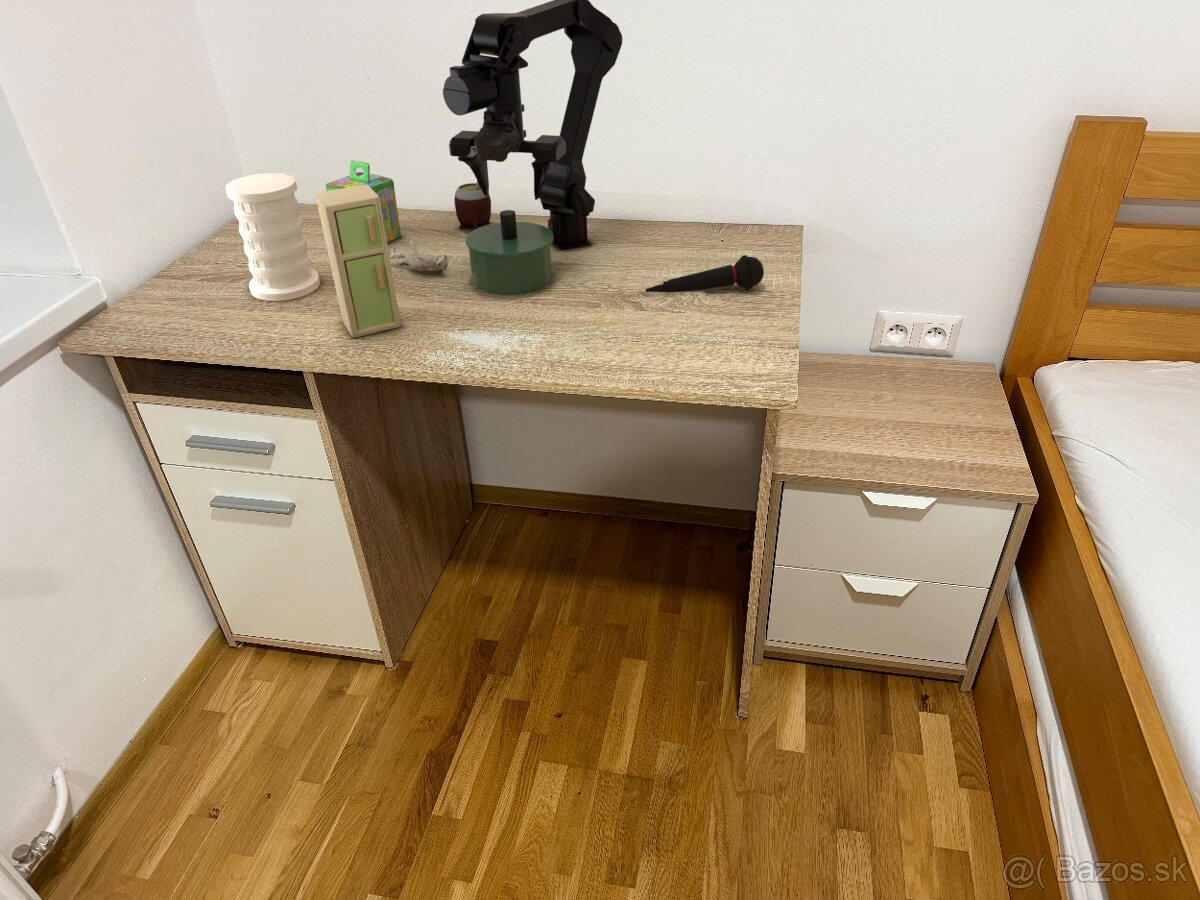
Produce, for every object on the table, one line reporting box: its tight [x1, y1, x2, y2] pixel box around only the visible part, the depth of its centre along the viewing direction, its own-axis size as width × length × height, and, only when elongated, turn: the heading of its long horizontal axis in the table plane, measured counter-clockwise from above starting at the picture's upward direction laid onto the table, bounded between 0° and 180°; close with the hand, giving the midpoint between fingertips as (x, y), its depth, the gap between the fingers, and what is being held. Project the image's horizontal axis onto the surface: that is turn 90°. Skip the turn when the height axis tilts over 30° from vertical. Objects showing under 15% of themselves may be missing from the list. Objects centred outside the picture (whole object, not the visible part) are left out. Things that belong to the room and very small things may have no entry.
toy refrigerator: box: [315, 185, 402, 339], centre depth 131 cm, size 8×7×21 cm
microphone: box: [645, 254, 765, 293], centre depth 145 cm, size 6×6×20 cm
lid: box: [465, 209, 554, 257], centre depth 145 cm, size 15×15×5 cm
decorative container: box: [225, 172, 321, 302], centre depth 145 cm, size 12×12×18 cm
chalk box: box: [325, 160, 402, 244], centre depth 163 cm, size 9×9×15 cm
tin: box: [468, 244, 553, 296], centre depth 148 cm, size 14×14×8 cm
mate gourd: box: [453, 160, 492, 230], centre depth 168 cm, size 8×8×15 cm
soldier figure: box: [389, 240, 449, 273], centre depth 153 cm, size 8×5×12 cm
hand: (511, 197), depth 148 cm, fingers open, 9 cm apart
